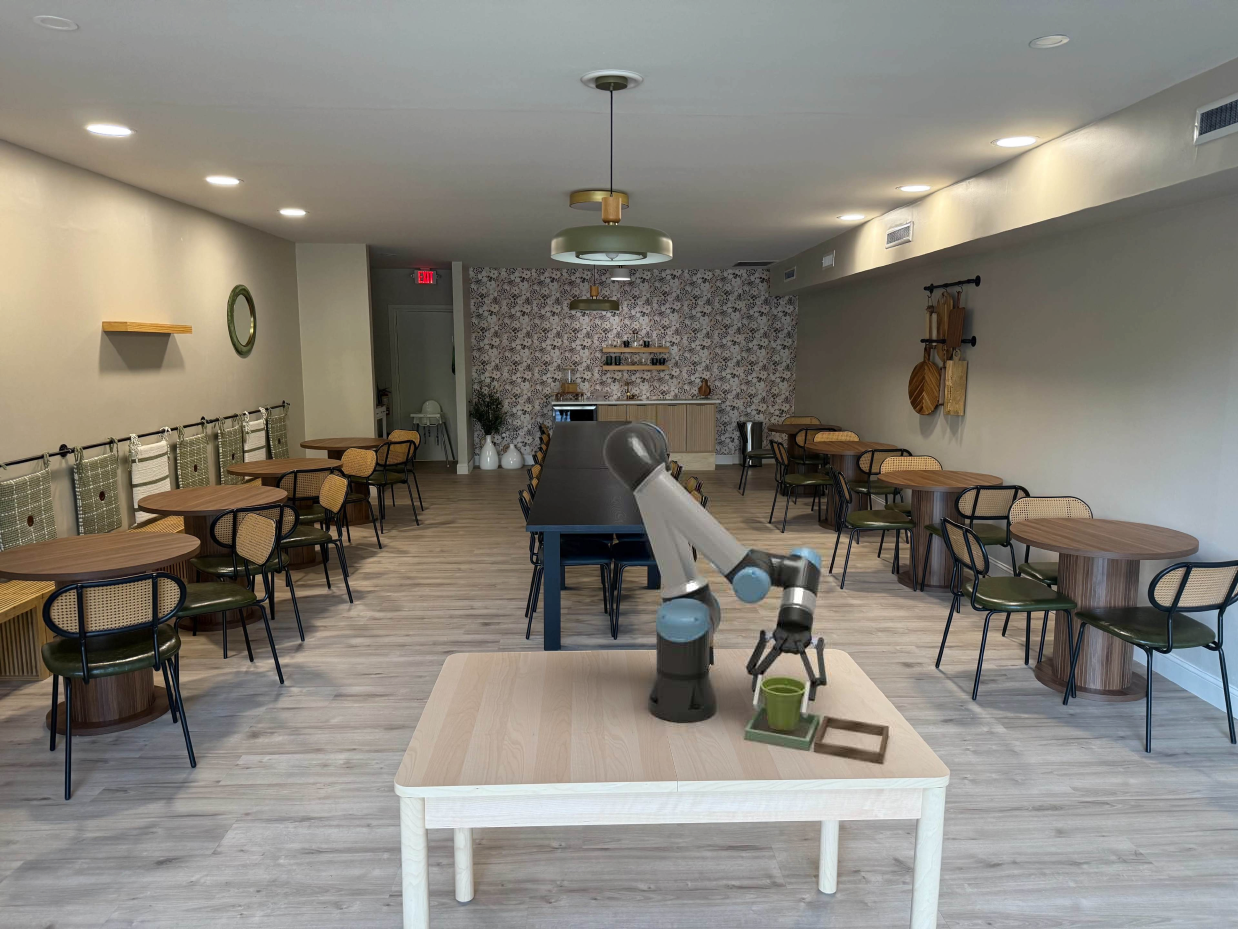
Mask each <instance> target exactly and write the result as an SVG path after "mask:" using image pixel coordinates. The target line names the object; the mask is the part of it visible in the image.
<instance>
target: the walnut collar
mask: <svg viewBox="0 0 1238 929" xmlns="http://www.w3.org/2000/svg"><path fill="white" fill-rule="evenodd" d="M819 726H820V727H818V728H819V729H818V730H817V732H816V736H815V738H814V740H813V741H814V742H813V752H814V753H820V754H822V755H823V754H824V755H829V754H830V756H835V757H840V758H846V757H848V758H847V759H851V758H853V760H857V759H860V760H859V761H862V760H864V762H868V761H869V763H875V764H879V765H883V764H884V759H885V753H886V750H887V744H888V739H889V732H890V730H889V728H890V727H889V725H883V724H878V723H877V724H876V723H872V722H865V721H860V720H859V721H858V720H853V719H848V718H847V719H846V718H841V717H834V716H829V715H824V716H823V718H822V720H821V723H820V725H819ZM828 728H830V729H831V728H833V729H837V730H838V729H839V730H844V731H850V732H856V733H863V734H868V735H874V736H880V737H881V741H880V746H879V750H878V751H877V750H872V749H866V748H860V747H854V746H848V745H843V744H837V743H832V742H826V741H823V740H824V737H825V735H826V732H827V729H828Z"/></svg>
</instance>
